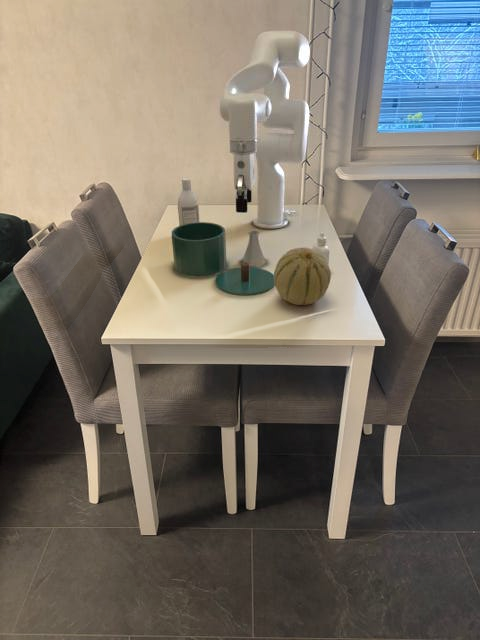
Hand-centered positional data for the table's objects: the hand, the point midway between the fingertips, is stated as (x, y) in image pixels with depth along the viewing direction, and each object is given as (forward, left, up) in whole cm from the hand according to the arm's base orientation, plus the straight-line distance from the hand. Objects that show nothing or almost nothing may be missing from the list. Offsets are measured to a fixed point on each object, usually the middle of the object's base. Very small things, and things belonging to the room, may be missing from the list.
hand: (244, 207), depth 146 cm
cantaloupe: (-3, +30, -18) cm, 35 cm away
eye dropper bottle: (-17, +16, -18) cm, 29 cm away
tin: (+14, -2, -17) cm, 22 cm away
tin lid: (+6, +14, -17) cm, 23 cm away
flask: (-2, +2, -18) cm, 18 cm away
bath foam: (+9, -28, -18) cm, 34 cm away
